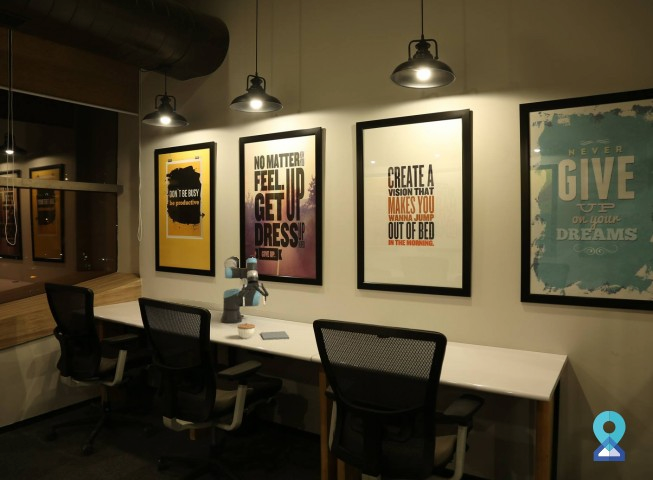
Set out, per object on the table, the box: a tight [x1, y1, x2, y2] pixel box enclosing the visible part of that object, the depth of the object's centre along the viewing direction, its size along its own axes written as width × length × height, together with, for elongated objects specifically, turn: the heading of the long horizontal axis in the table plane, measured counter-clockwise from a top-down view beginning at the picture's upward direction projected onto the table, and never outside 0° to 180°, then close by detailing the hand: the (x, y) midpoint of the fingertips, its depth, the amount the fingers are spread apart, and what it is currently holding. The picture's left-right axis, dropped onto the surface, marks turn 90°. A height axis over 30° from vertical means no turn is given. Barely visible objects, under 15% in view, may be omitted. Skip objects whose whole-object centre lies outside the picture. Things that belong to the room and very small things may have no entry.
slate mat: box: [260, 330, 290, 341], centre depth 305 cm, size 16×16×1 cm
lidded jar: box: [237, 322, 256, 340], centre depth 300 cm, size 11×11×9 cm
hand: (254, 306), depth 322 cm, fingers open, 13 cm apart
